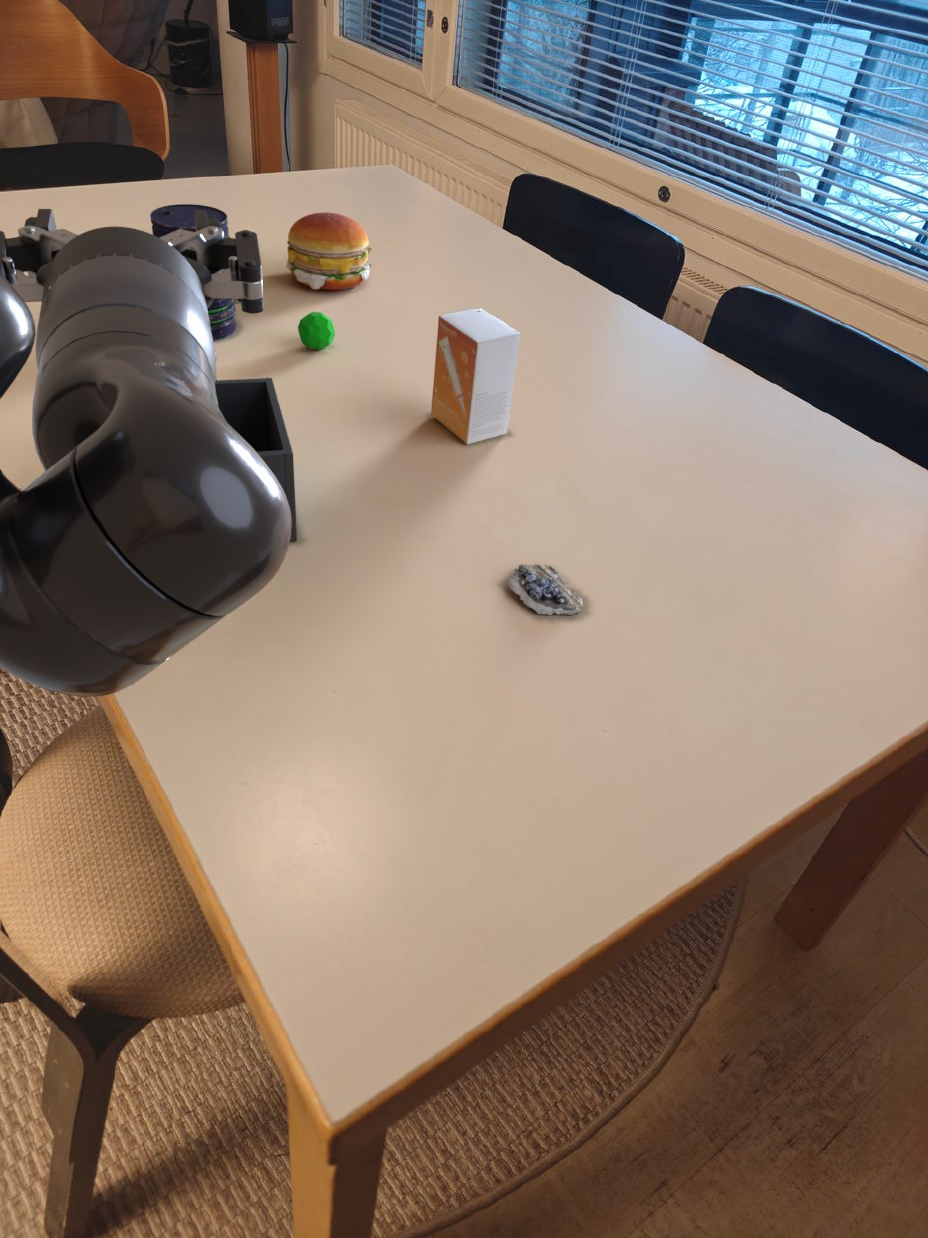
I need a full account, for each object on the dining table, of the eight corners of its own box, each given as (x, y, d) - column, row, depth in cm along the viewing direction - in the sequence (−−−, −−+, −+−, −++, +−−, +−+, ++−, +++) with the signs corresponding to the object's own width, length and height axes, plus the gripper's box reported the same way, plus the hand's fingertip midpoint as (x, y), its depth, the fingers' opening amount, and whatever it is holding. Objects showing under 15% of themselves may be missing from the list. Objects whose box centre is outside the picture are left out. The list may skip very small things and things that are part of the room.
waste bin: (131, 557, 82) (113, 465, 75) (130, 470, 93) (114, 384, 86) (297, 541, 86) (293, 453, 79) (276, 460, 97) (272, 377, 90)
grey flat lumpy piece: (529, 560, 87) (532, 545, 86) (598, 593, 84) (602, 578, 83) (493, 592, 83) (495, 576, 81) (564, 628, 79) (568, 613, 78)
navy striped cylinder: (246, 318, 125) (238, 209, 115) (225, 345, 118) (214, 231, 108) (178, 309, 125) (164, 199, 116) (153, 336, 118) (136, 221, 108)
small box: (429, 416, 108) (437, 314, 99) (470, 406, 111) (481, 306, 102) (466, 445, 103) (477, 341, 95) (508, 434, 106) (522, 332, 98)
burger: (381, 274, 143) (383, 211, 137) (353, 302, 133) (354, 235, 127) (305, 260, 145) (303, 197, 139) (272, 287, 135) (269, 220, 129)
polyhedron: (296, 340, 121) (294, 307, 118) (330, 339, 122) (330, 306, 119) (302, 356, 117) (301, 321, 114) (337, 354, 119) (337, 320, 116)
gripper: (280, 256, 39) (244, 160, 51) (-70, 258, 35) (-23, 153, 47) (287, 406, 44) (253, 287, 56) (-20, 422, 40) (11, 291, 52)
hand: (126, 226), depth 51 cm, fingers open, 8 cm apart
